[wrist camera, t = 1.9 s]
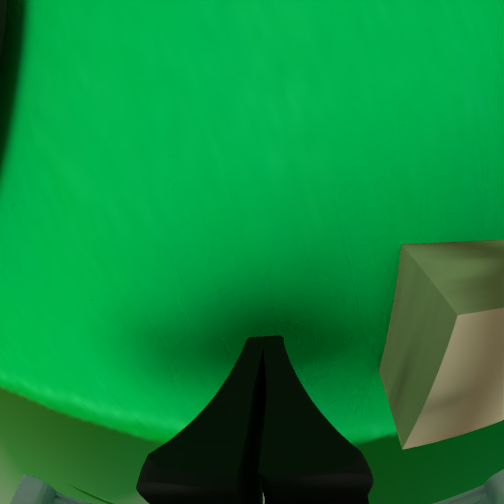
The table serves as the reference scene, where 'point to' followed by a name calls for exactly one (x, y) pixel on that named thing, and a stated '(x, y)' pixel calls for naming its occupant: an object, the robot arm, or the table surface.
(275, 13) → the table surface
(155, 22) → the table surface
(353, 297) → the table surface
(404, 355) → the beech block
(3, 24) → the electronic game
